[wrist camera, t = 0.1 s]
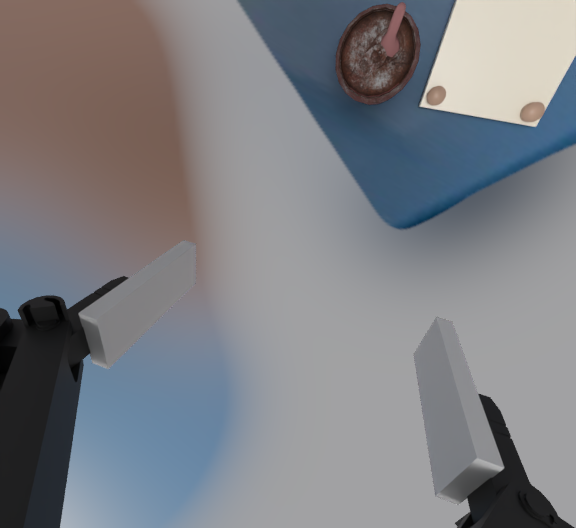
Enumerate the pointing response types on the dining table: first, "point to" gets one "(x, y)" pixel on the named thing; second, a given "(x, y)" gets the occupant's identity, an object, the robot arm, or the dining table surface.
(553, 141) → the dining table surface
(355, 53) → the can
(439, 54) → the stud plate
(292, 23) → the dining table surface
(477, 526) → the robot arm
